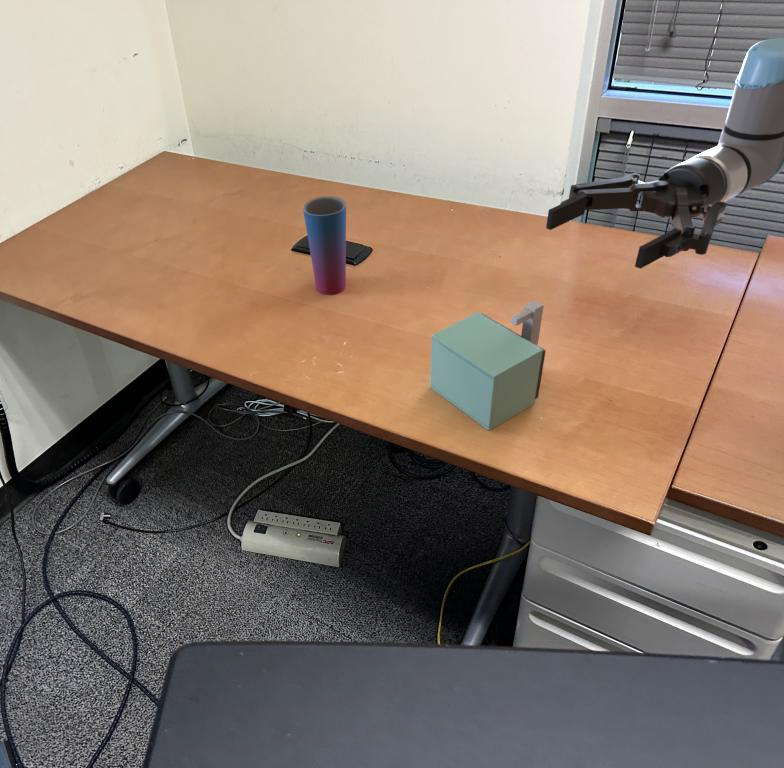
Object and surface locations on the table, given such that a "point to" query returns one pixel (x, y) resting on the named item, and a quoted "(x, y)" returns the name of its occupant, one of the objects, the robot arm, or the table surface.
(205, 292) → the table surface
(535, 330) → the dark grey drawer
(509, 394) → the box
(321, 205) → the cup
